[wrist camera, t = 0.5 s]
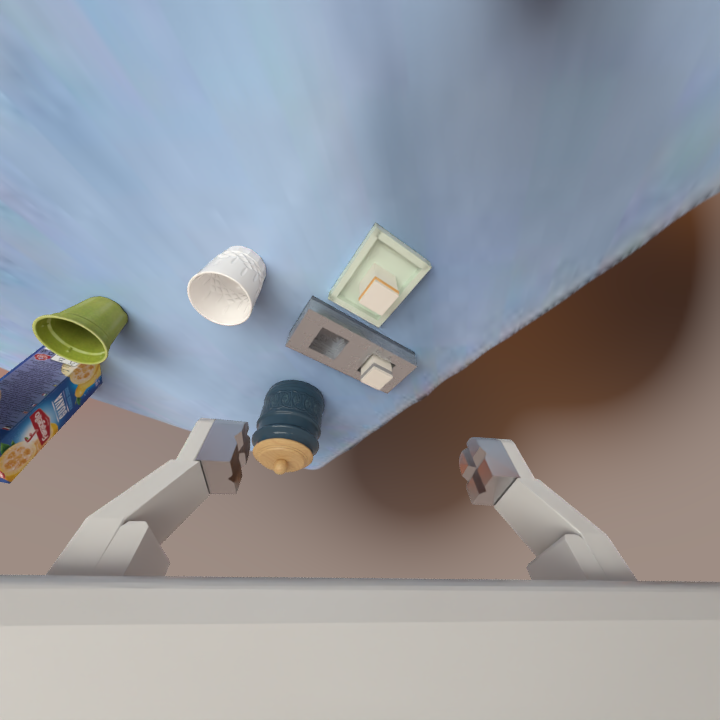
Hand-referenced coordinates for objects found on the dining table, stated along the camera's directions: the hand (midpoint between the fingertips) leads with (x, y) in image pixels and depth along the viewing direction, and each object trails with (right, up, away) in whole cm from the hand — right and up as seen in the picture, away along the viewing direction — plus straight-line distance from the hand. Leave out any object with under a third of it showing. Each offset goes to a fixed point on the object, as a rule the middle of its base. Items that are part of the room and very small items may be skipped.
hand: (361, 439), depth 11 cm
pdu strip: (-1, +6, +43) cm, 44 cm away
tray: (+3, +16, +35) cm, 38 cm away
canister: (-15, -6, +55) cm, 57 cm away
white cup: (-18, +17, +34) cm, 42 cm away
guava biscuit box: (-56, +3, +48) cm, 74 cm away
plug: (+3, +15, +34) cm, 38 cm away
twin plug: (+3, +3, +44) cm, 45 cm away
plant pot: (-44, +12, +39) cm, 60 cm away
